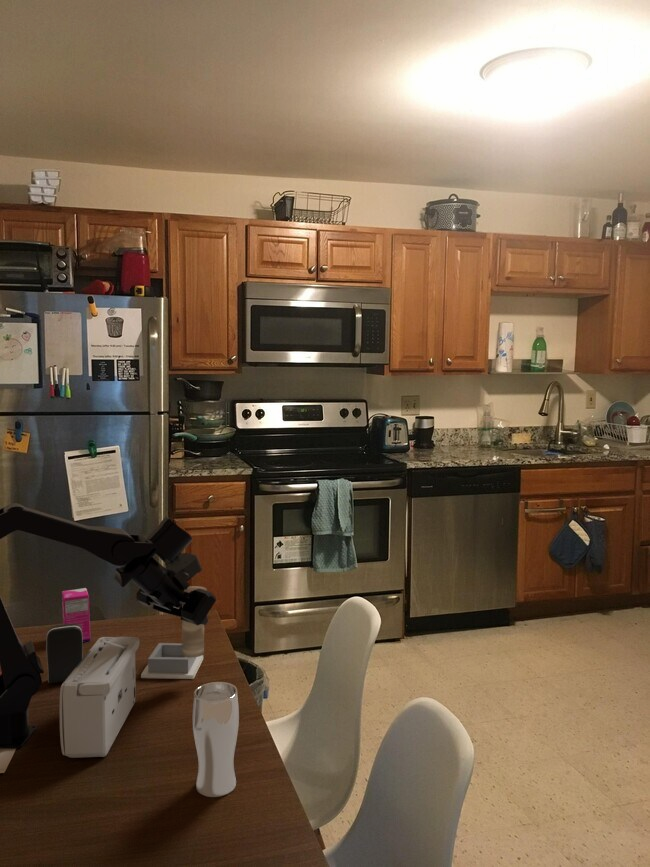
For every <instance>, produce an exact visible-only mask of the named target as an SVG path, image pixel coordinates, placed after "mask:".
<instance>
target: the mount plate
mask: <svg viewBox="0 0 650 867" xmlns="http://www.w3.org/2000/svg"><path fill="white" fill-rule="evenodd" d="M203 660H204V654H203V655H201V656H199V657H193V658H189V657H185V656H183V655H182V642H181V643H177V642H176V643H175V642H158V644H157V645H156V647H155V648H154V649H153V651H152V653H151V654H150V656H149V657H148V658H147V664H146V666H145V668H144V669H143V670H142V672H141V674H140V679H171V680H172V679H174V680H194V679H195V677H196V675H197V672H198V670H199V668H200V666H201V664H202V662H203Z"/></svg>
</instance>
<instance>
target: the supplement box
mask: <svg viewBox="0 0 650 867" xmlns="http://www.w3.org/2000/svg"><path fill="white" fill-rule="evenodd" d="M61 599H62V601H61V603H62V604H61V605H62V606H61V607H62V625H63V624H78V625H79V626H80V627H81V630H82V636H83V643H87V642H86V641H88V642H91V637H92V636H91V620H90V595H89V593H88V589H87V588H86V587H83V588H77V589H69V590H63V591H61Z"/></svg>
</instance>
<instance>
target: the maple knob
mask: <svg viewBox="0 0 650 867" xmlns="http://www.w3.org/2000/svg"><path fill="white" fill-rule="evenodd" d="M196 589H203V590H206V591H208V589H207V588H206V587H204V586H201V585H200V586H198V585H192V586H191V585H189V587H188V588H187V589H186V590H184V591H185V592H188V593H190V592H191V591H194V590H196ZM182 608H183V604H182ZM181 643H182V655H183V656H185V657H189V658H193V657H199V656H201V655H203V656H204V654H205V625H203V624H200V625H195V624H193V623H189V622H186V621H184V620H181Z"/></svg>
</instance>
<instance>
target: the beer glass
mask: <svg viewBox="0 0 650 867" xmlns="http://www.w3.org/2000/svg"><path fill="white" fill-rule="evenodd" d="M238 696H239V695H238V688H237V687H236V685H234V684H232V683H230V682H226V681H214V682H213V681H211V682H207V683H204V684H202V685H200V686H198V687H197V688H196V689H194V691H193V701H192V702H193V705H192V732H193V738H194V742H195V748H196V754H197V759H198V769H197V770H198V771H197V772H198V773H197V778H196V783H195V784H196V786H195V789H196V790H197V793H199V794H200V795H201V796H204V797H207V798H220V797H223V796H226V795H228V794H230V793H232V792H233V791H234V790H235V788H236V786H237V785H236V784H237V779H236V774H235V766H234V760H235V758H234V757H235V752H236V751H235V750H236V747H237V746H236V745H237V740H238V739H237V738H238V733H239V724H240V723H239V721H240V710H239V709H240V708H239V698H238Z"/></svg>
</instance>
